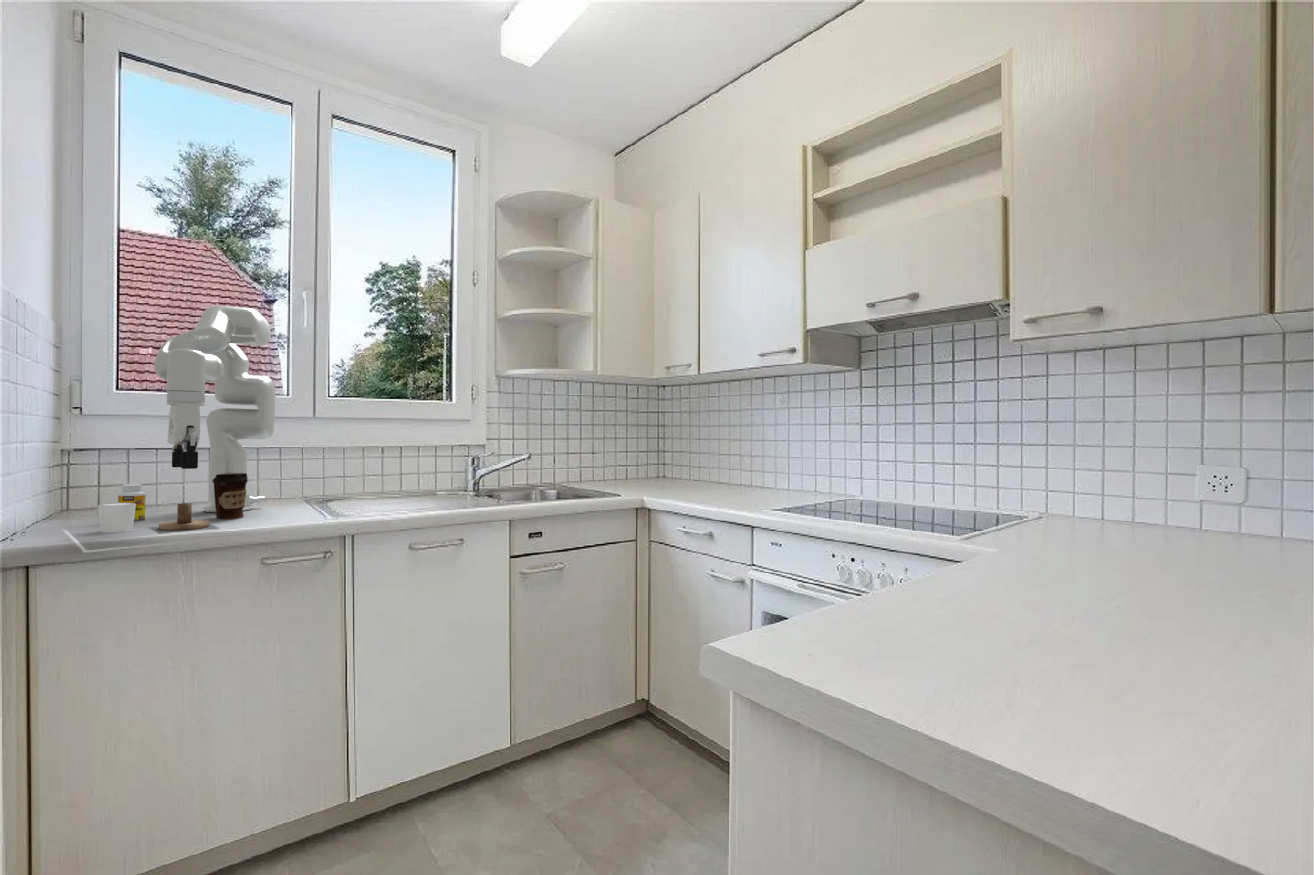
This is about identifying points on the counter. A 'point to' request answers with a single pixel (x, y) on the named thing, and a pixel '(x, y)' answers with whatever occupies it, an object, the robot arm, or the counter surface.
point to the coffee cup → (230, 495)
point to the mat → (181, 531)
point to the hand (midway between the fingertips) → (184, 467)
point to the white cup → (116, 517)
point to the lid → (184, 520)
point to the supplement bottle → (134, 499)
